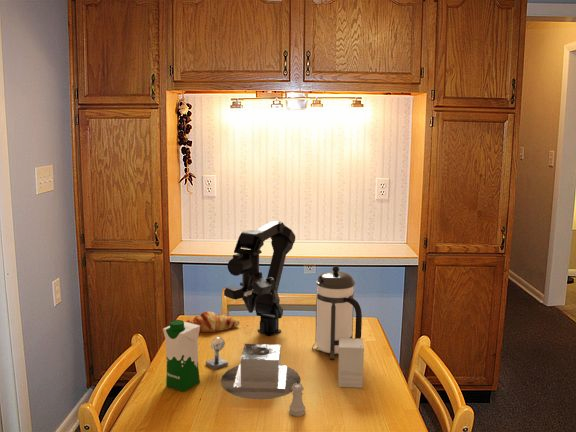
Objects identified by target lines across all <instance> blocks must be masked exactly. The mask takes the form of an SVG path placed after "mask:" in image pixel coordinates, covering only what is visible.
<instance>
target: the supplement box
mask: <svg viewBox="0 0 576 432" xmlns="http://www.w3.org/2000/svg"><path fill="white" fill-rule="evenodd" d="M364 356H365V347H364V340H363V338H361V339H355V337H354V338H339V353H338V368H337V370H338V371H337V372H338V373H337V374H338V375H337V377H338V378H337V379H338V388H357V389H363V387H364V386H363V385H364V359H365V357H364Z"/></svg>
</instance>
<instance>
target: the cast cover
mask: <svg viewBox="0 0 576 432" xmlns="http://www.w3.org/2000/svg"><path fill="white" fill-rule="evenodd" d="M280 364H281V344H268V343H267V344H266V343H244V345H243V348H242V352H241V356H240V364H238V366H239V367H238V371H237V375H236V378H235V382H234V385H233V391H247V392H283V393H285V385H286V373H287V367H288V365H284V366H280Z"/></svg>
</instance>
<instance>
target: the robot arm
mask: <svg viewBox="0 0 576 432" xmlns="http://www.w3.org/2000/svg"><path fill="white" fill-rule="evenodd" d="M268 239H271V242H270V244H271V247H272V251H273V252H272V255H271V256H272V257H271V261H270V265H269V268H268V272H267V276H266V277H265V278H264V277H263V273H262V271H260V254H262V250H261V248H262V247H263V246H264V242H265V241H266V240H268ZM295 242H296V234H295V233H294V231H293V230H292V229H291V228H290V227H288V226H286V225H285V224H284V223H283V222H282V221H279V220H270V221H268V222H267V223H266V224H264V225H262V226H260V227H259V228H257V229H255V230H244V231H242V232H241V233H240V235H239V236H238V239H237V241H236V244H235V247H234V251H233V253H234V254H232V258H231V259H230V260H228V264H227V270H228V272H229V273H230V275H231V276H234V277H236V276H240V275H242V278H241V280H242V281H240V282H239V286H240V287H239V286H235V285H232V286H229V287H225V289H224V290H223V295H224V297H225V298H229V299H231V300H239V299H242V301H243V302H244V305H245V307H246V309H247V311H248V313H250V314H251V313H253V312H254V310H255V314H256V315H255V316H257V317H260V321H259V329H257V332H259V334H260V333H261V334H263V335H265V336H267V337H269V336H273V335H277V334H279V333H282V330H281V329H280V328H279V319H282V316H283V314H284V309H283V307H282V306H281V305H280V303H281V302H280V301H281V299H280V297H279V293H278V290H279V287H280V282H281V278H282V275H283V274H282V273H283V269H284V264H285V261H286V257H287V254H289V252H291V250H292V249H293V246H294V244H295Z"/></svg>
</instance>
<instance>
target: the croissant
mask: <svg viewBox="0 0 576 432" xmlns="http://www.w3.org/2000/svg"><path fill="white" fill-rule="evenodd" d="M185 322H188V323H192V324H196V325H200V330H199V333H200V332H201V333H217V332H220V331H223V330H224V331H226V330H229V329H230V328H236V327H238V326H239V325H240V321H239V320H237V319H235V318H234V317H229V316H227V315H226V314H224V313H220V314H219V313H218V314H216V313H215V312H213V311H203V312H201V313H200V315H197V316H195V317H194V318H193V319H187V321H185Z"/></svg>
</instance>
